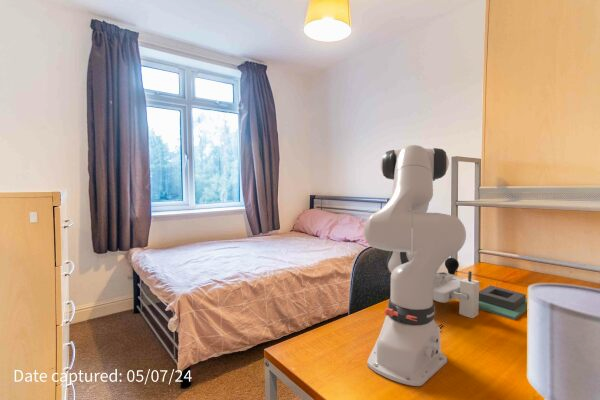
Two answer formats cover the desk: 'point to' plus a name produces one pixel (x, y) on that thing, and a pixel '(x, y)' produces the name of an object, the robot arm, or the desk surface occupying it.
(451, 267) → the light bulb
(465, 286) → the plug
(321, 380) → the desk surface
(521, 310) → the board
